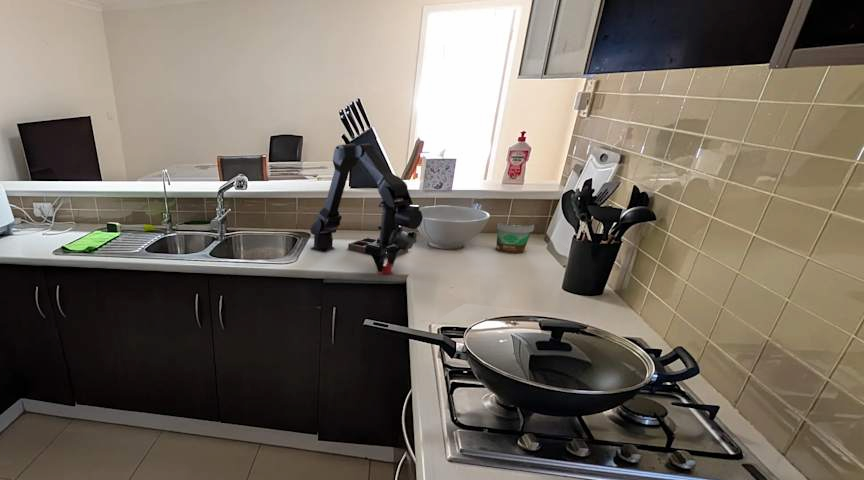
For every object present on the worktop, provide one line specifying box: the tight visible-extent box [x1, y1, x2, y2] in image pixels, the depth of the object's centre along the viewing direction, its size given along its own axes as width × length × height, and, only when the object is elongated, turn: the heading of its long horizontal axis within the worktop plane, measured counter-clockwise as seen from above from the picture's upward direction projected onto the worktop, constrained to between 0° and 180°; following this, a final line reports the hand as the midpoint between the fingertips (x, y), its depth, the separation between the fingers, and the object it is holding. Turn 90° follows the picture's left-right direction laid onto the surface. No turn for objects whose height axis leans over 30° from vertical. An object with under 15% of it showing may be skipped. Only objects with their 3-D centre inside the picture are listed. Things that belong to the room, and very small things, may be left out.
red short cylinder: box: [378, 261, 393, 275], centre depth 167 cm, size 4×4×3 cm
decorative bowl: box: [417, 205, 490, 250], centre depth 192 cm, size 27×27×12 cm
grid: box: [347, 237, 409, 259], centre depth 190 cm, size 18×12×2 cm
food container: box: [495, 221, 535, 255], centre depth 181 cm, size 12×6×10 cm, turn 68°
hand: (385, 269), depth 168 cm, fingers open, 6 cm apart
